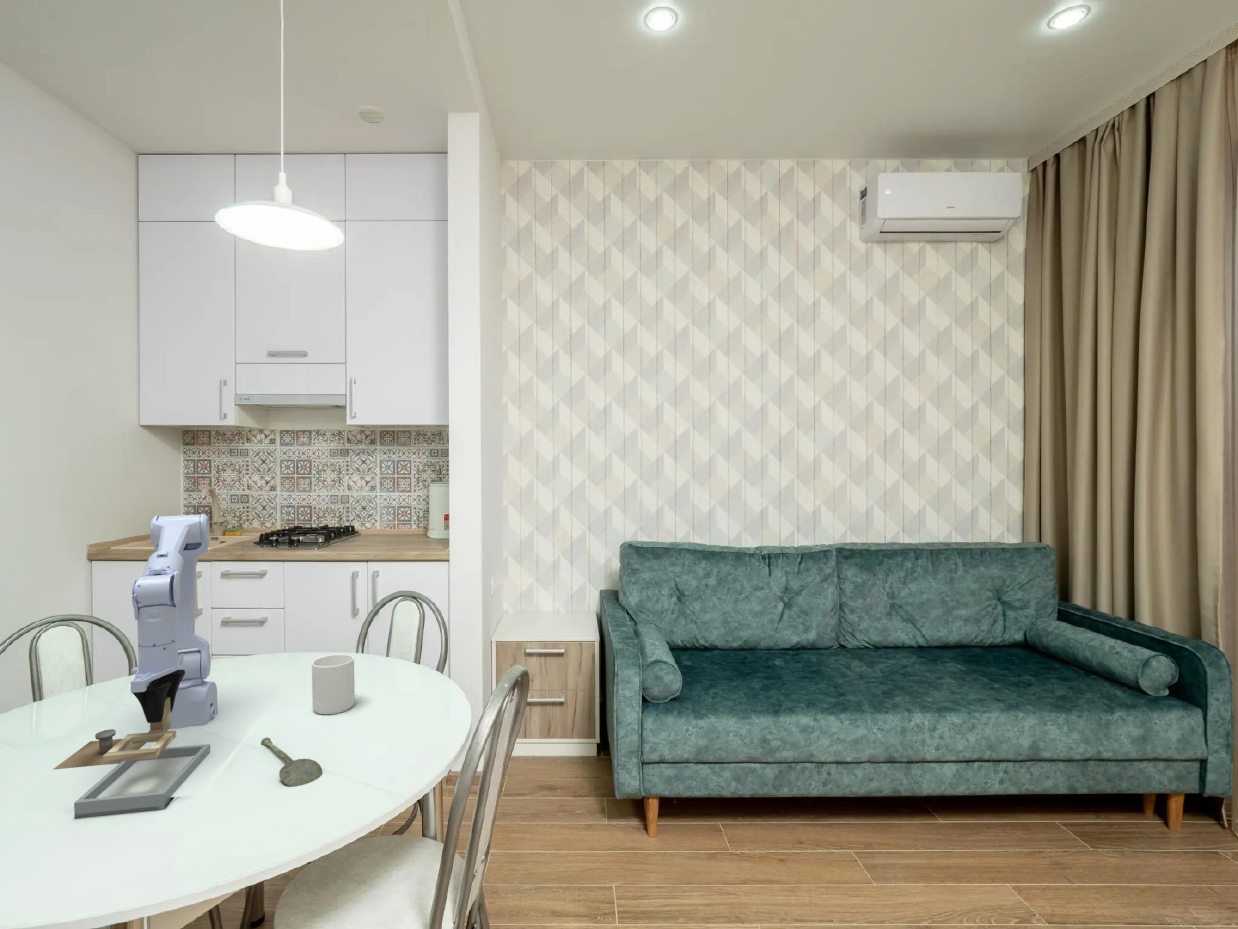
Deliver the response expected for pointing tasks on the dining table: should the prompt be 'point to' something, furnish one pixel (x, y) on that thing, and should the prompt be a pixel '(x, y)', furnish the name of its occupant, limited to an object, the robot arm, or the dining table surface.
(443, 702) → the dining table surface
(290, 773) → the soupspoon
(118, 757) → the wooden knob frame
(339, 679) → the mug
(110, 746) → the block
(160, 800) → the grey rectangular frame
